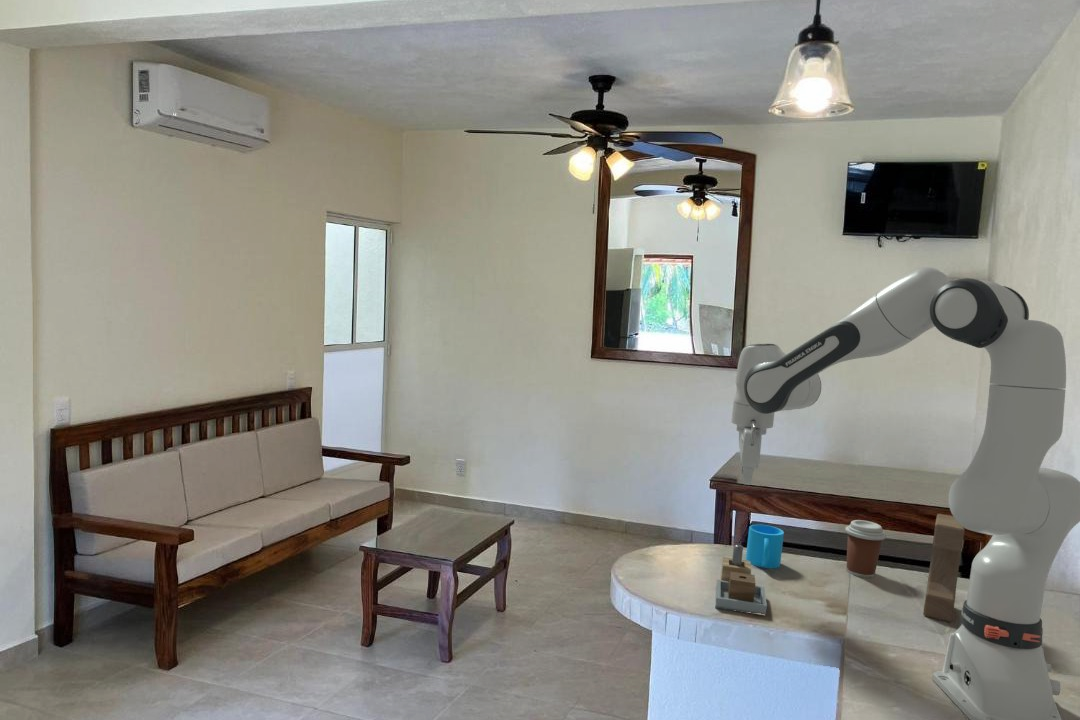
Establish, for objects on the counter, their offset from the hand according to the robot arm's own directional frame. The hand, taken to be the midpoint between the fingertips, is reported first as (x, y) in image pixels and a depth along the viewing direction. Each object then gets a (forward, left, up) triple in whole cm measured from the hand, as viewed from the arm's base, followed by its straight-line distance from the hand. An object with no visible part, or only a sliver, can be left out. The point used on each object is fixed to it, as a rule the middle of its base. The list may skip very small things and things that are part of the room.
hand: (745, 479), depth 180 cm
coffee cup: (+22, -30, -24) cm, 45 cm away
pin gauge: (0, 0, -24) cm, 24 cm away
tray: (-10, -1, -24) cm, 26 cm away
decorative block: (+3, -43, -24) cm, 50 cm away
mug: (+17, -7, -24) cm, 31 cm away
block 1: (0, 0, -24) cm, 24 cm away
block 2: (-10, -1, -24) cm, 26 cm away
